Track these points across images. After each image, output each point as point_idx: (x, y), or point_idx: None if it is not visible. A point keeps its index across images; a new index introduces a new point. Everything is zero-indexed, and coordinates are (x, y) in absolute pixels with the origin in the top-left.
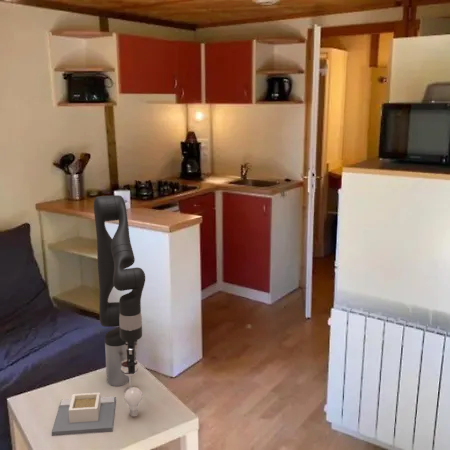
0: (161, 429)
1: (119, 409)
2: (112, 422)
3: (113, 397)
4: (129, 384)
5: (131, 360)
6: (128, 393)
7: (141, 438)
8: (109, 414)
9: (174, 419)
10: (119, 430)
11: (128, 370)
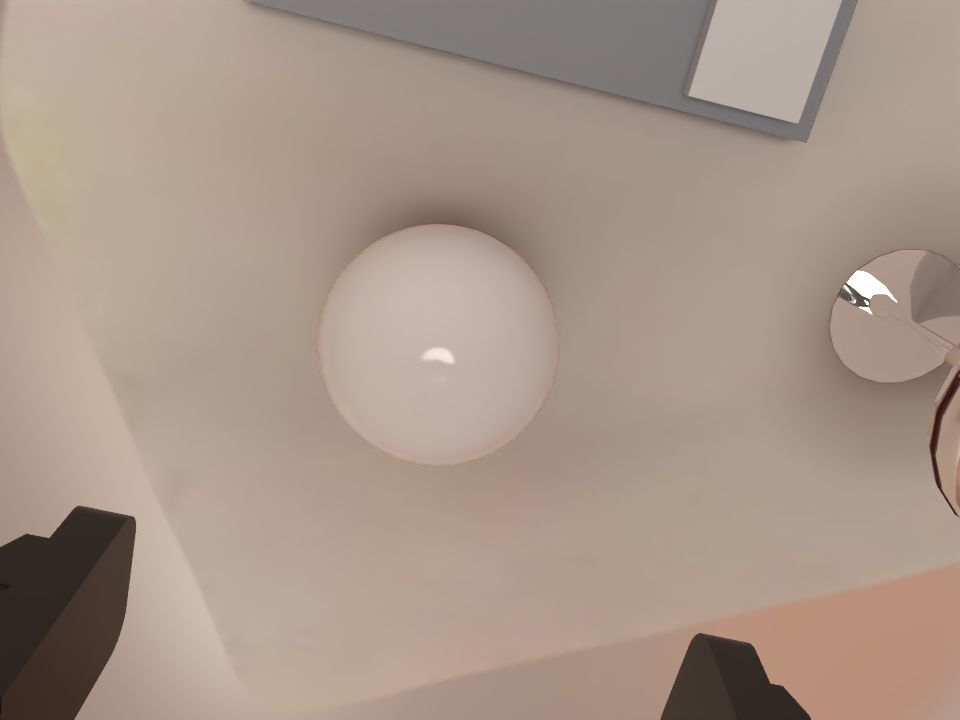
0: (162, 459)
1: (609, 143)
2: (328, 16)
3: (777, 109)
4: (936, 336)
5: (685, 664)
6: (386, 303)
7: (70, 265)
8: (491, 7)
9: (275, 587)
10: (246, 78)
11: (42, 552)
